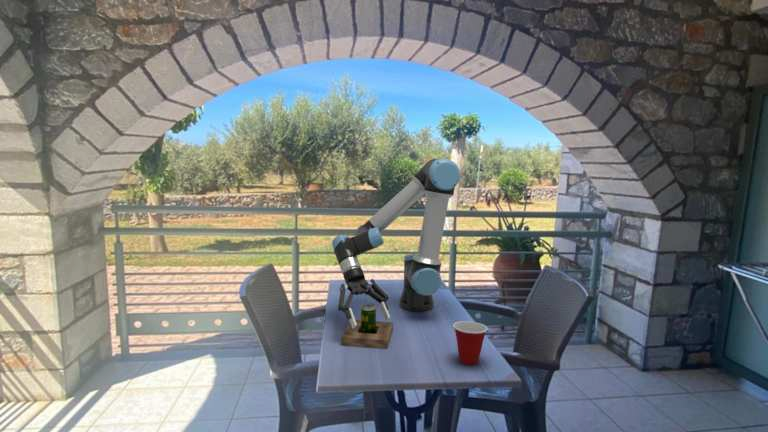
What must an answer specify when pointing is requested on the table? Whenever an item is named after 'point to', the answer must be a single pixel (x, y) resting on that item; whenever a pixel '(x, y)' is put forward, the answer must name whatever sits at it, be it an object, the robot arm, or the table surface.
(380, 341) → the socket block
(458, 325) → the plastic cup
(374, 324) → the beer can
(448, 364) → the table surface
